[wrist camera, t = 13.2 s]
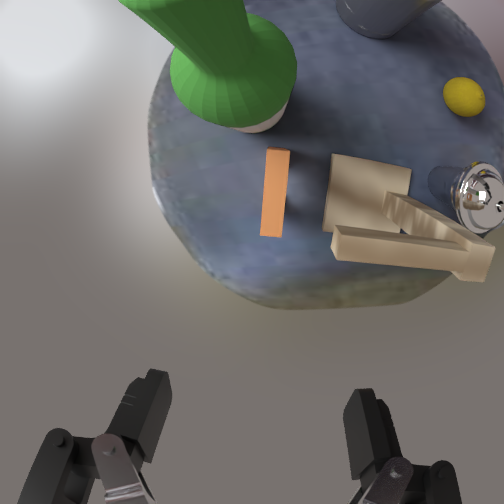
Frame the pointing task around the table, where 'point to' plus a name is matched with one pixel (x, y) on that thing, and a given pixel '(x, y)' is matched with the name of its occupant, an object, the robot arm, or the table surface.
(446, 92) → the lemon
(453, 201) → the cup with straw
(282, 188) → the c link
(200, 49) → the wine bottle
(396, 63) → the table surface
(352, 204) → the hook stand
